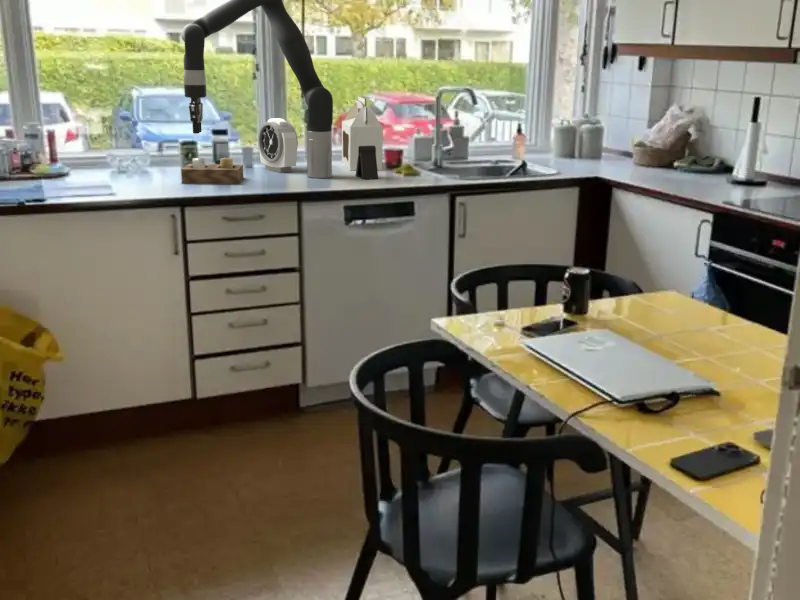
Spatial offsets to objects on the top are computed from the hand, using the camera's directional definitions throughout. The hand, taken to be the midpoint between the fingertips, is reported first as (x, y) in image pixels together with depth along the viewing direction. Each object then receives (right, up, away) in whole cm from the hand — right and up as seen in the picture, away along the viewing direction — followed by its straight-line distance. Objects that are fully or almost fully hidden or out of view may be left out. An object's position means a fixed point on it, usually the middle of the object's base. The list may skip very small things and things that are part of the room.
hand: (197, 132), depth 307 cm
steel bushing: (0, -17, +5) cm, 17 cm away
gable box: (+57, -5, +47) cm, 74 cm away
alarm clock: (+24, -9, +33) cm, 42 cm away
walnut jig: (+5, -17, +5) cm, 18 cm away
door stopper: (+60, -14, +19) cm, 65 cm away
